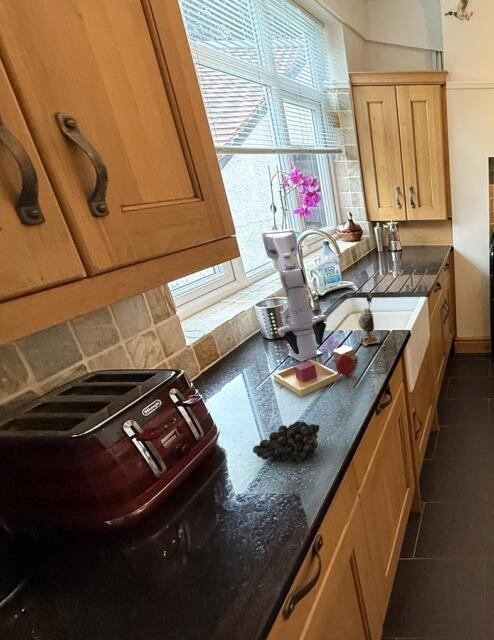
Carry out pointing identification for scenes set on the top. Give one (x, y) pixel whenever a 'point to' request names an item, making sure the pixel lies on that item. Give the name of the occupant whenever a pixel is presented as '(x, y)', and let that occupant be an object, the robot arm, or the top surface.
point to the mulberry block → (305, 371)
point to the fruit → (289, 442)
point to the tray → (322, 379)
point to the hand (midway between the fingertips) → (308, 348)
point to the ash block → (345, 350)
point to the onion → (345, 365)
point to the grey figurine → (368, 324)
